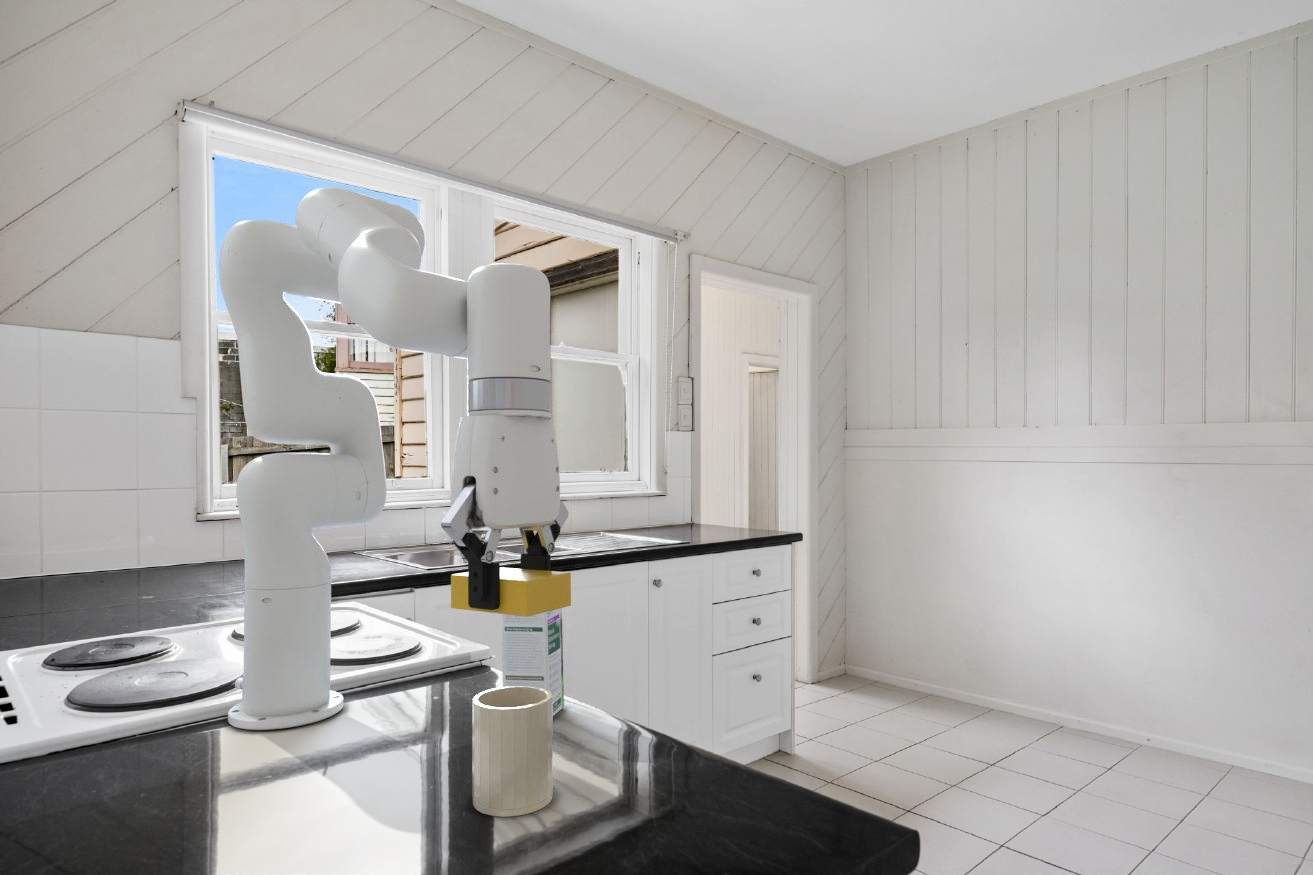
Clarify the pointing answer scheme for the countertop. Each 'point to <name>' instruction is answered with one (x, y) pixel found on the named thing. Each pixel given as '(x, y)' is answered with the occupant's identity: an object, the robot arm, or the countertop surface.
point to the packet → (520, 591)
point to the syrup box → (534, 653)
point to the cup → (512, 750)
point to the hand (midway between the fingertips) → (510, 600)
